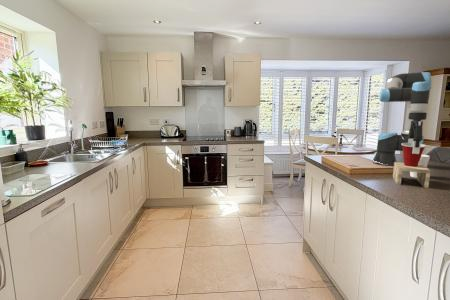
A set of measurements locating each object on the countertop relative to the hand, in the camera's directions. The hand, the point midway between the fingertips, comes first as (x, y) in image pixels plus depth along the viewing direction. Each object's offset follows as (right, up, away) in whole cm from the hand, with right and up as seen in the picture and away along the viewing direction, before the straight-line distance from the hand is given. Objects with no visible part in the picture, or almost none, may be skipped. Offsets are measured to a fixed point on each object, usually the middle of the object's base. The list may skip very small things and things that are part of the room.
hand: (412, 151), depth 133 cm
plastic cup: (0, -8, +2) cm, 8 cm away
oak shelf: (0, -17, +3) cm, 17 cm away
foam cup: (+13, -15, +15) cm, 25 cm away
